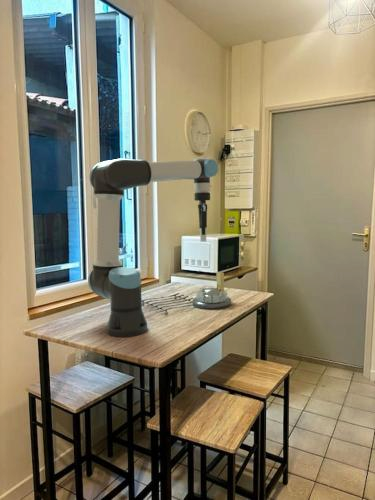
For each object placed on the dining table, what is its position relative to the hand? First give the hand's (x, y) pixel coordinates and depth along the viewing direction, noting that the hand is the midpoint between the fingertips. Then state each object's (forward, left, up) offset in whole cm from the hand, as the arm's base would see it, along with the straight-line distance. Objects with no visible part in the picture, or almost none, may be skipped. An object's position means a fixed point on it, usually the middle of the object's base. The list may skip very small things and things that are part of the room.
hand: (203, 241), depth 187 cm
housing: (-1, -11, -28) cm, 30 cm away
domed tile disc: (-1, -11, -26) cm, 28 cm away
